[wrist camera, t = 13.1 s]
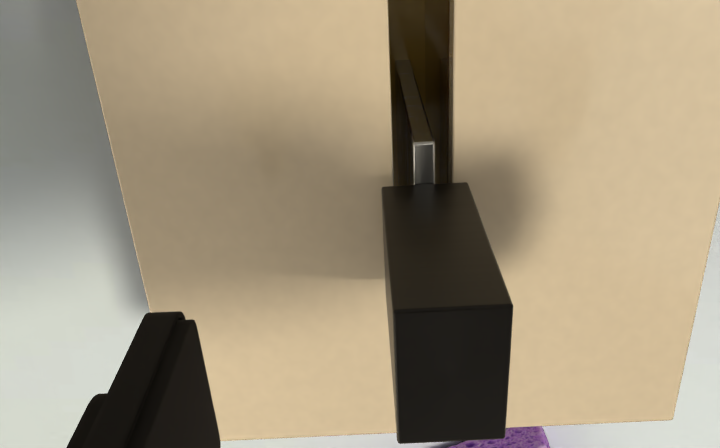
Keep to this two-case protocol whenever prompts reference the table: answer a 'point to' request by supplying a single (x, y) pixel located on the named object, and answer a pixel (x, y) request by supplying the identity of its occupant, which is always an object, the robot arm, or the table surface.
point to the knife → (441, 294)
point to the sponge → (512, 439)
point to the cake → (380, 169)
